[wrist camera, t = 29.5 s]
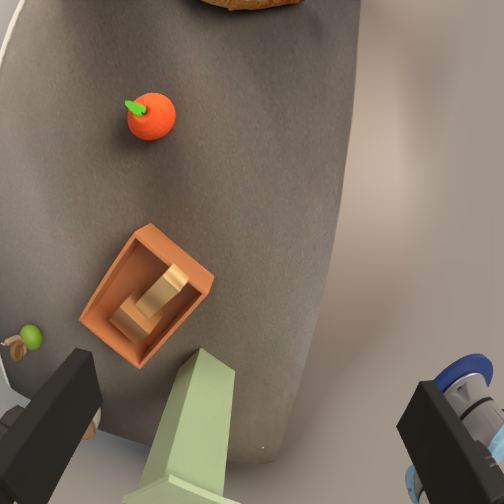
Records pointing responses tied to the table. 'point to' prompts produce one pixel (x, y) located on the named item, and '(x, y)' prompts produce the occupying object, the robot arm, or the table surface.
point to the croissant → (250, 3)
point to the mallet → (148, 305)
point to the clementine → (150, 116)
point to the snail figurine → (24, 342)
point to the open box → (144, 276)
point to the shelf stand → (191, 438)
